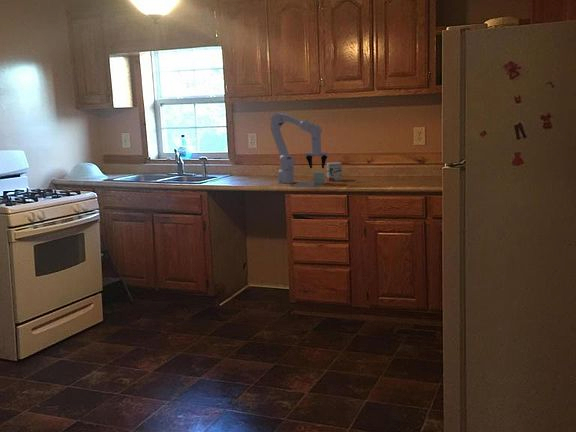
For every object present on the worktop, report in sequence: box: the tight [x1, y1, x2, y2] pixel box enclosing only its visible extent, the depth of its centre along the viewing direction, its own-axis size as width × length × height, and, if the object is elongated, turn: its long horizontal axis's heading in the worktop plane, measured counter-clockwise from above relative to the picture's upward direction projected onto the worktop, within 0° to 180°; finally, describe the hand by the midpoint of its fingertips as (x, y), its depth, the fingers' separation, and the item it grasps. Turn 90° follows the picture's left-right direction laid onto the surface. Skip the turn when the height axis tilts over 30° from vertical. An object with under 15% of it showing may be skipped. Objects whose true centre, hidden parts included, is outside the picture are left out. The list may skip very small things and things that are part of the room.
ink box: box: [326, 161, 343, 182], centre depth 407 cm, size 9×5×12 cm, turn 101°
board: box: [289, 181, 328, 188], centre depth 395 cm, size 18×20×1 cm
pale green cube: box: [312, 171, 325, 184], centre depth 397 cm, size 5×5×7 cm
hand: (317, 168), depth 398 cm, fingers open, 7 cm apart
